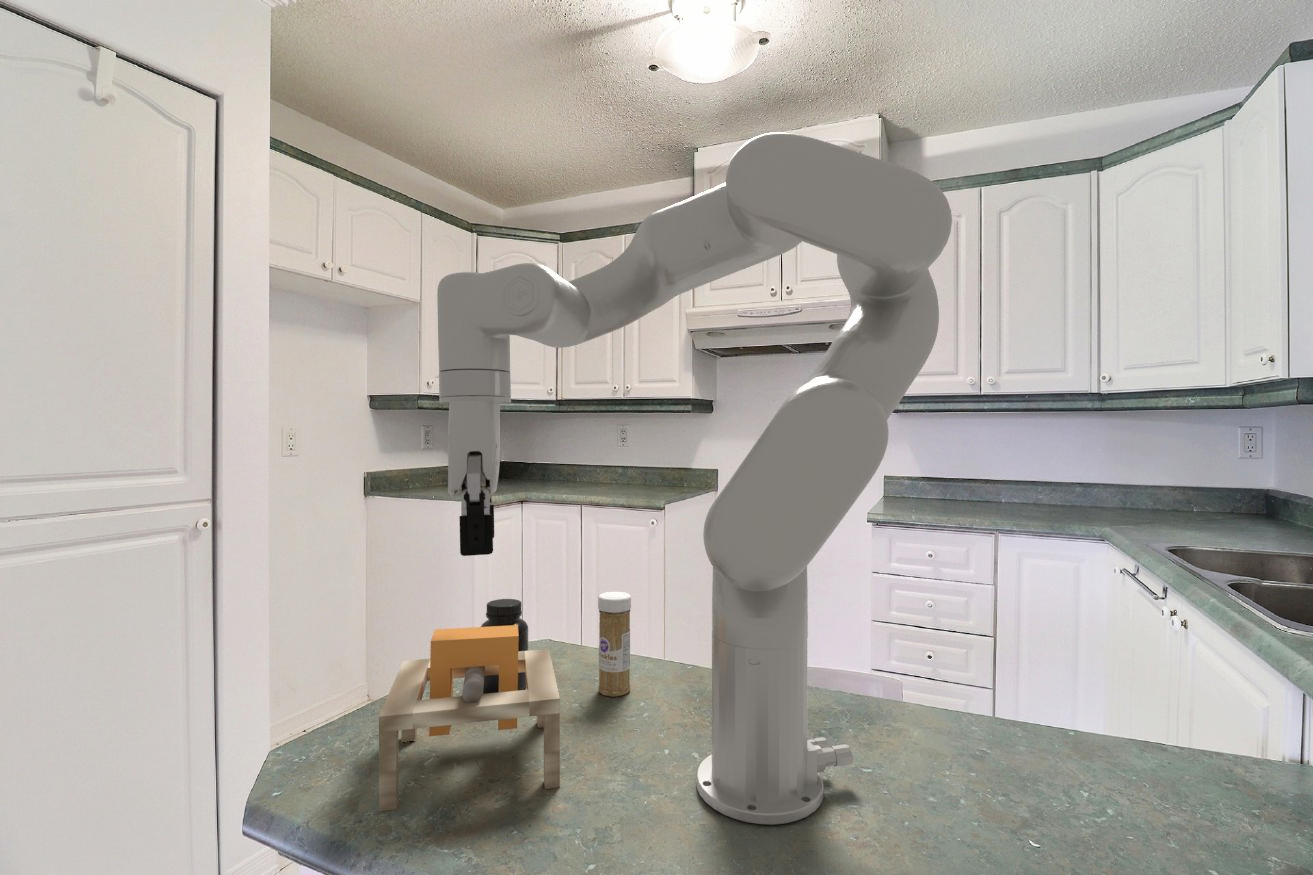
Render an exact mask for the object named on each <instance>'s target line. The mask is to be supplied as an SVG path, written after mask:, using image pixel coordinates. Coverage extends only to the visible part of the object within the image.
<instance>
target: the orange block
mask: <svg viewBox="0 0 1313 875" xmlns="http://www.w3.org/2000/svg"><path fill="white" fill-rule="evenodd" d="M518 640H519V635H518V625H509V626H491V627H481V626H475V627H474V626H473V627H456V628H455V627H454V628H437V629H434V630H433V634H432V636H431V640H430V650H429V651H430V658H429V659H430V681H429V699H436V698H447V697H454V696H453V695H454V694H453V693H454V679H453V668H463V667H478V666H493V665H499V692H509V691H518ZM451 726H452V725H445V726H436V727H428V729H429V730H428V736H429V737H437V736H448V735H450V732H451V728H452V727H451ZM516 729H518V718H511V719H501V720H497V731H503V730H505V731H506V730H516Z"/></svg>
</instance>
